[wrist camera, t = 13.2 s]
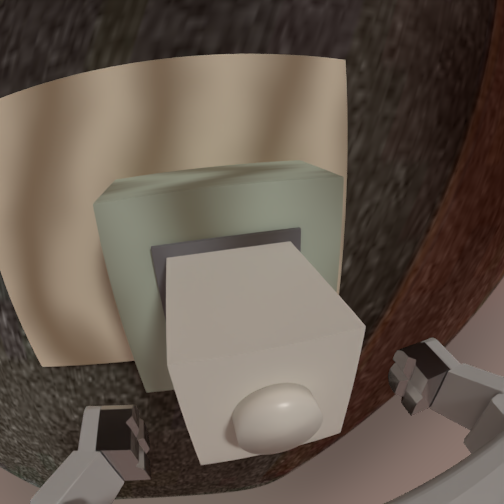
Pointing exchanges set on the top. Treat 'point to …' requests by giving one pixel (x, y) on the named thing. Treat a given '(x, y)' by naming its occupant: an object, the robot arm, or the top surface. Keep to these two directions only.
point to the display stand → (161, 190)
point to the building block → (258, 350)
